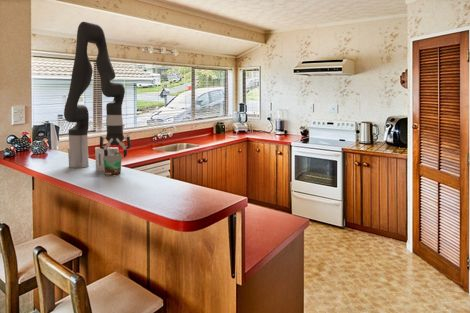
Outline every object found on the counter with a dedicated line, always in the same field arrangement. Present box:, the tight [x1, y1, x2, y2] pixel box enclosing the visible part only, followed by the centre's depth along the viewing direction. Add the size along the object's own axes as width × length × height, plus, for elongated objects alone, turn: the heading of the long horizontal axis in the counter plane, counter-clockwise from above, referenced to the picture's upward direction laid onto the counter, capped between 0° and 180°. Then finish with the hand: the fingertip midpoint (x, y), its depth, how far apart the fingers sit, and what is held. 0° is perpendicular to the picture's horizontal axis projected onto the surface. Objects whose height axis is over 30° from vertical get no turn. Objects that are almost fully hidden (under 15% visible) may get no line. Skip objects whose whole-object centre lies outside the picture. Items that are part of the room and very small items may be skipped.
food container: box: [103, 152, 124, 177], centre depth 177 cm, size 12×6×10 cm, turn 169°
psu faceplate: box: [94, 146, 119, 172], centre depth 184 cm, size 11×2×12 cm, turn 100°
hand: (115, 157), depth 176 cm, fingers open, 8 cm apart
